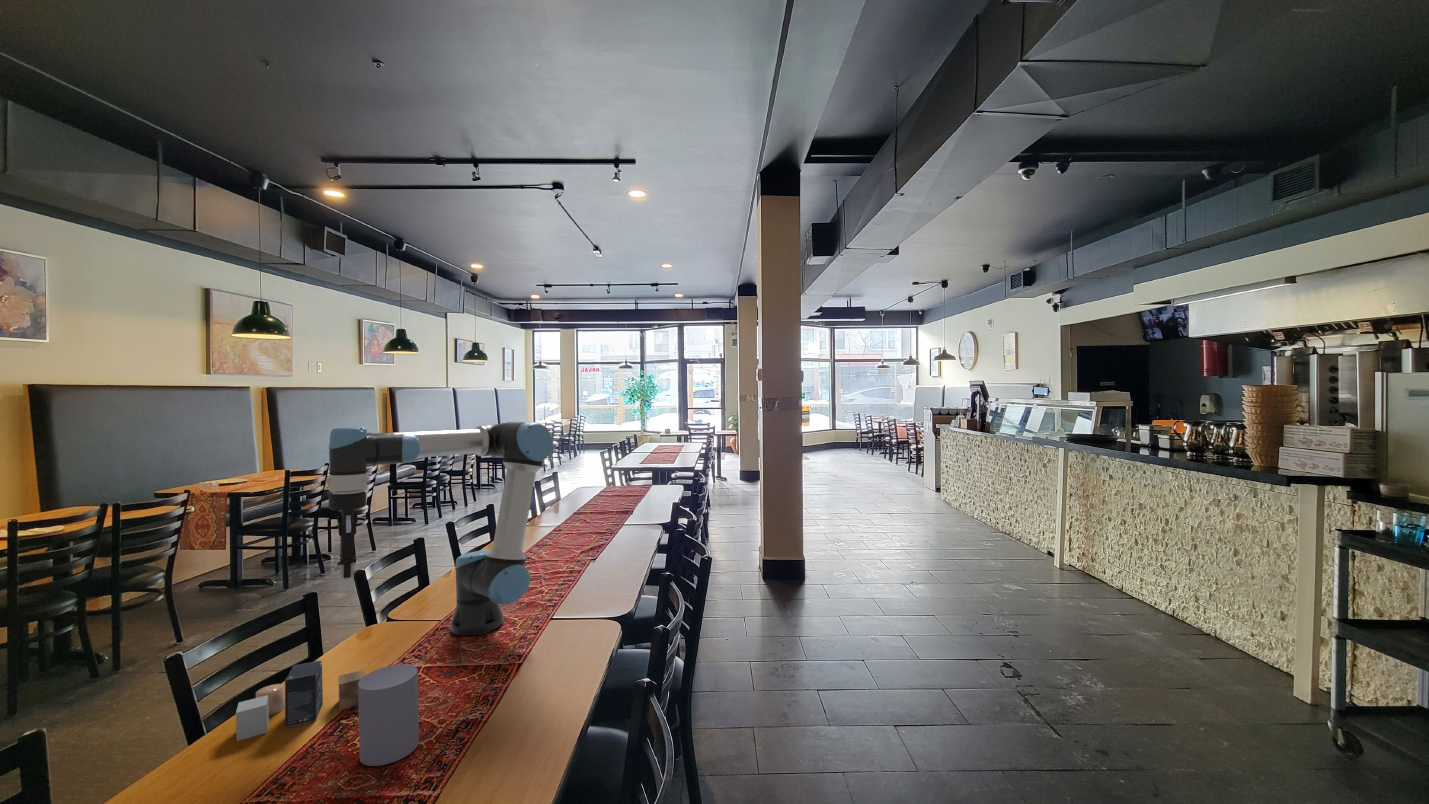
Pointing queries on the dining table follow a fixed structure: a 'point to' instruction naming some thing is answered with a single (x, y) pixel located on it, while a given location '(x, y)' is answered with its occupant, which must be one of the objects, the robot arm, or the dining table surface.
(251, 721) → the slate block
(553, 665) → the dining table surface
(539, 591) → the dining table surface
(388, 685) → the container
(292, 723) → the box
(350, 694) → the walnut block
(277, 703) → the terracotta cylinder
